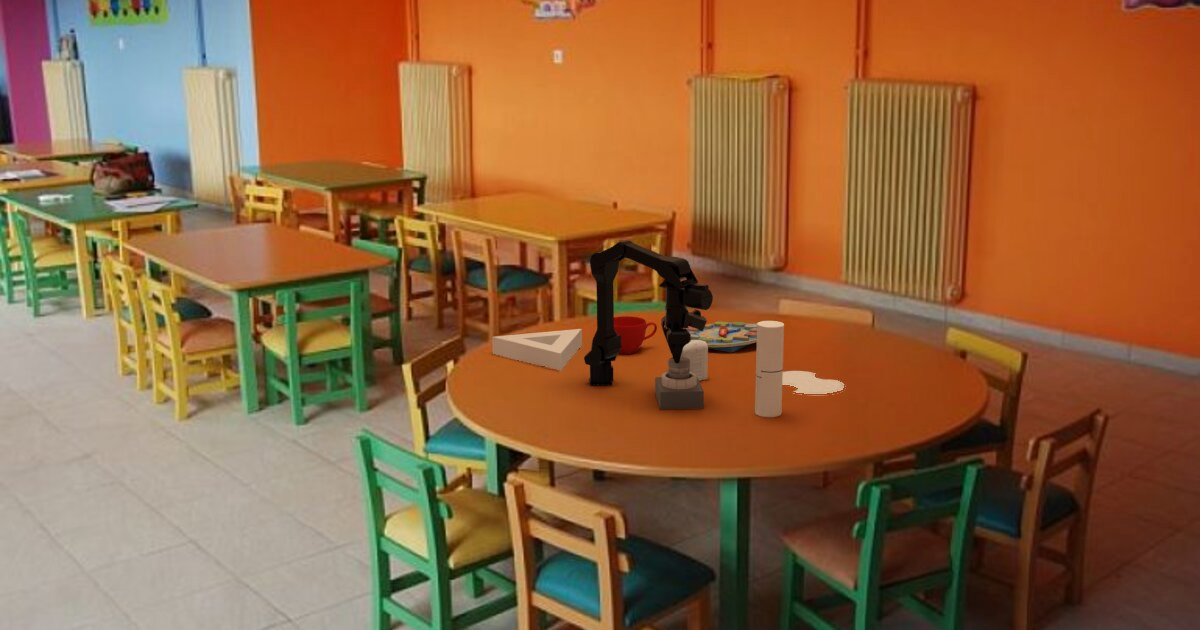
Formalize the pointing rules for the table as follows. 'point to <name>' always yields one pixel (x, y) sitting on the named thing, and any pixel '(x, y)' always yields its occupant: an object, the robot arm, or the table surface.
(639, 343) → the ceramic cup
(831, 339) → the table surface
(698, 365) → the white rounded device
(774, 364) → the cylindrical container
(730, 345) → the shape sorting clock
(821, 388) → the white puddle shape
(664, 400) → the gray ring-topped block
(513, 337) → the triangle block
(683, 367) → the grey rounded block
